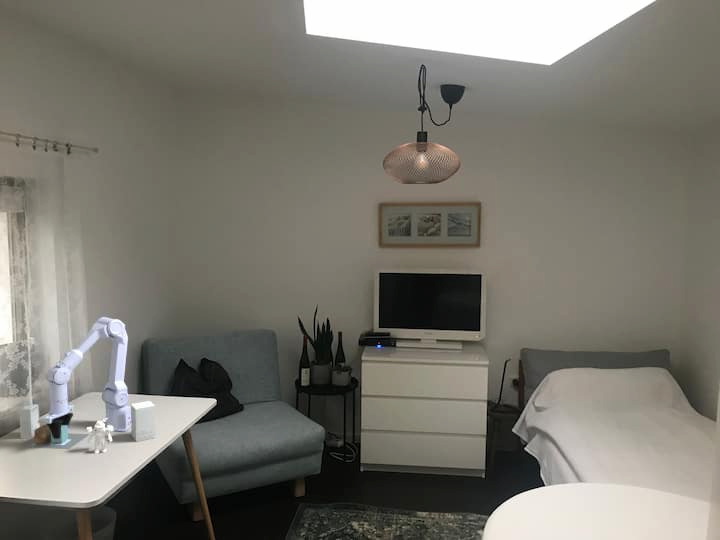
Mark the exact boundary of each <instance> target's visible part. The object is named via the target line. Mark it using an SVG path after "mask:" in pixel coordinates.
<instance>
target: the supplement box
mask: <svg viewBox="0 0 720 540" xmlns="http://www.w3.org/2000/svg"><path fill="white" fill-rule="evenodd" d="M130 406H131V427H130V429H131V437H132V438H133V440H134V441H135V442H142V441H147V439H148V440H152V439H156V437H157V434H156V405H155V404H154V403H153V402H152V401H151V400H146V401H142V402H136V403H135V402H134V403H131V404H130Z"/></svg>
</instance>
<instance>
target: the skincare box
mask: <svg viewBox="0 0 720 540" xmlns="http://www.w3.org/2000/svg"><path fill="white" fill-rule="evenodd" d="M39 407H40V406H39V404H37V403H36V404H26V405H24V406H23V407H21V408H20V409H19V411H18V412H19V413H18V414H19V427H20V439H21V440H22V439H26V440H27V439H29V440H31V439H33V438H35V435H34V430H35V429H37V428H39V427H41V425H40V412H39V411H40V409H39Z"/></svg>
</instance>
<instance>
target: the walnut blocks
mask: <svg viewBox="0 0 720 540" xmlns="http://www.w3.org/2000/svg"><path fill="white" fill-rule="evenodd" d="M34 435H35V437H34V442H35V444H46V443H48V442H49V441H51V430H50V428H49V427H48V425H47V424H46V423H44V424H42V425H40V427H39V428H37V429H35V430H34Z"/></svg>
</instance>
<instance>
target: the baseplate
mask: <svg viewBox="0 0 720 540" xmlns="http://www.w3.org/2000/svg"><path fill="white" fill-rule="evenodd" d="M88 434H89V433H88ZM88 434H87V433H73V432H72V433H70V432H68V439H67V440H65V441H64V442H62V443H59V442H51V441H49V442H48V443H46V444H35V441H34V442H32V443H31V444H29V445H27V446H26V448H33V449H35V448H36V449H55V450H56V449H59V450H60V449H61V450H70V449H71V448H73V447H74V446H76V445H77V444H79V443H80V442H81V441H83V440H84V439H86V438H87V437H90V435H88Z"/></svg>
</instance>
